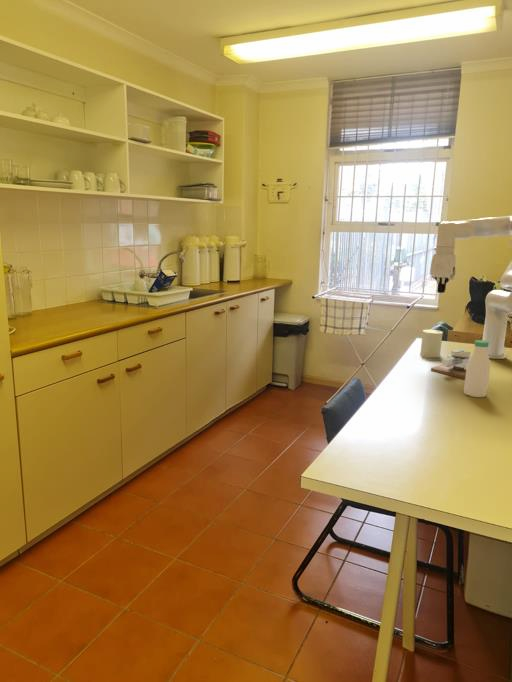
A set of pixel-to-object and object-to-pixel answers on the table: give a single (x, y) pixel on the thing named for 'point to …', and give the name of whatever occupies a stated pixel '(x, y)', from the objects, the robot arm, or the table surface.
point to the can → (431, 343)
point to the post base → (451, 370)
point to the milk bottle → (477, 371)
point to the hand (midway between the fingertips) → (441, 292)
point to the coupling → (455, 360)
